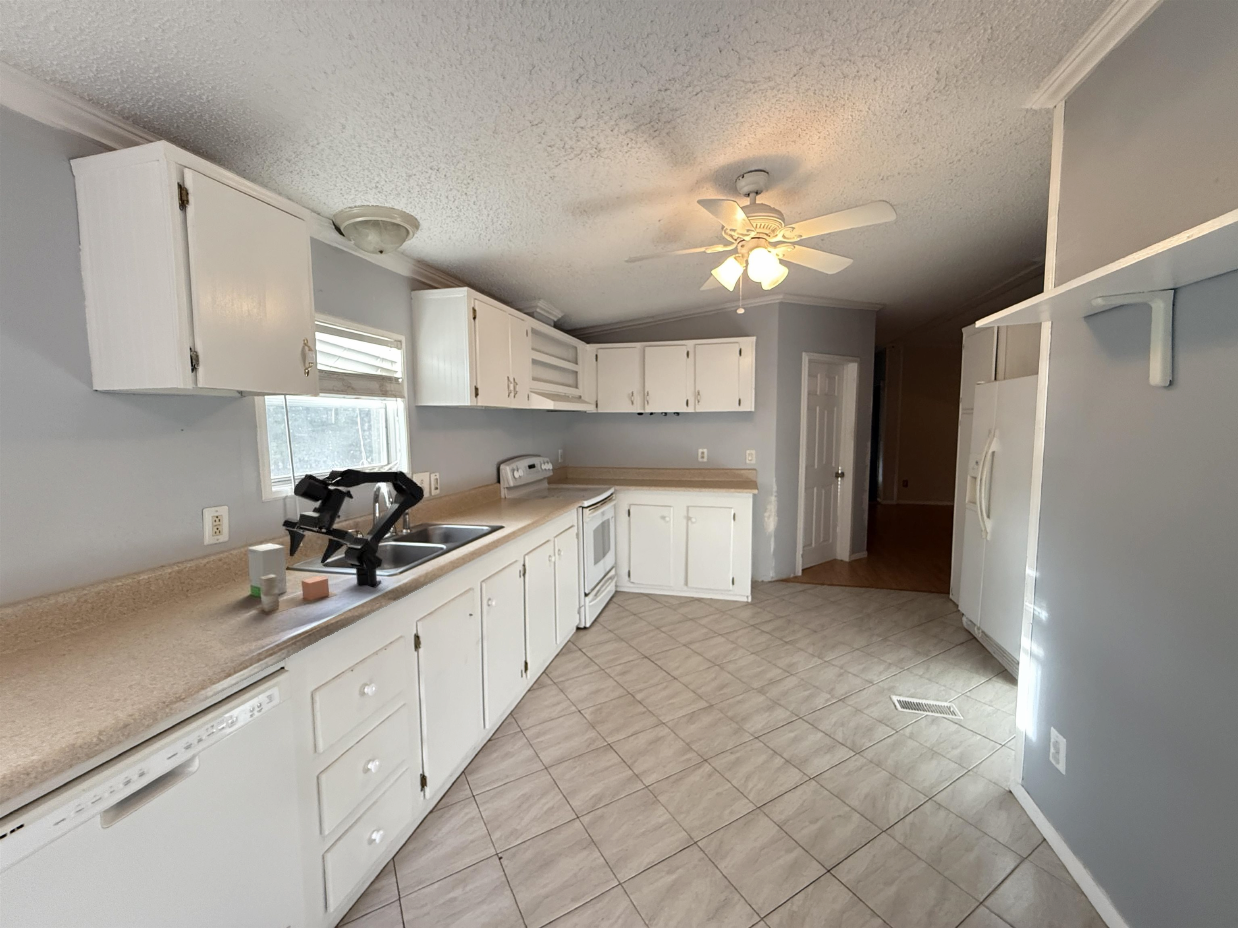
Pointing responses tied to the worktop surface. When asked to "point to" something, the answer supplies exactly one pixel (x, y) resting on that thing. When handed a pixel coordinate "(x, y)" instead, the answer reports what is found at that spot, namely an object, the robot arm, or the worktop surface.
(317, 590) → the cube
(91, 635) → the worktop surface
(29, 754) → the worktop surface
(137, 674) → the worktop surface
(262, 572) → the skincare box
